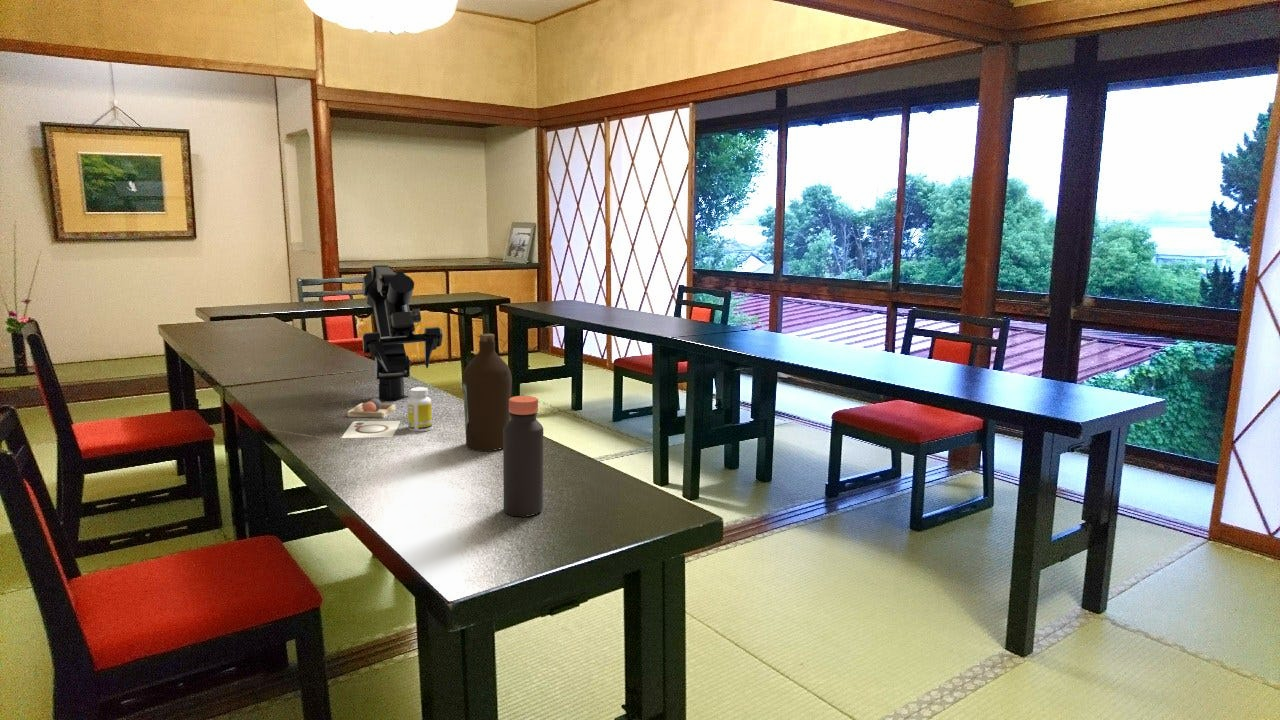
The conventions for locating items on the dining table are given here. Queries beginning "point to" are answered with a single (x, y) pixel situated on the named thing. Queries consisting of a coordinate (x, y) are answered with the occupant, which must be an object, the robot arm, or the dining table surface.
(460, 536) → the dining table surface
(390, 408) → the masu tray
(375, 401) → the grey ball
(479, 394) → the brown rum bottle
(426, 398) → the supplement bottle
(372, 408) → the red ball
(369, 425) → the card
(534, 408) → the vinegar
